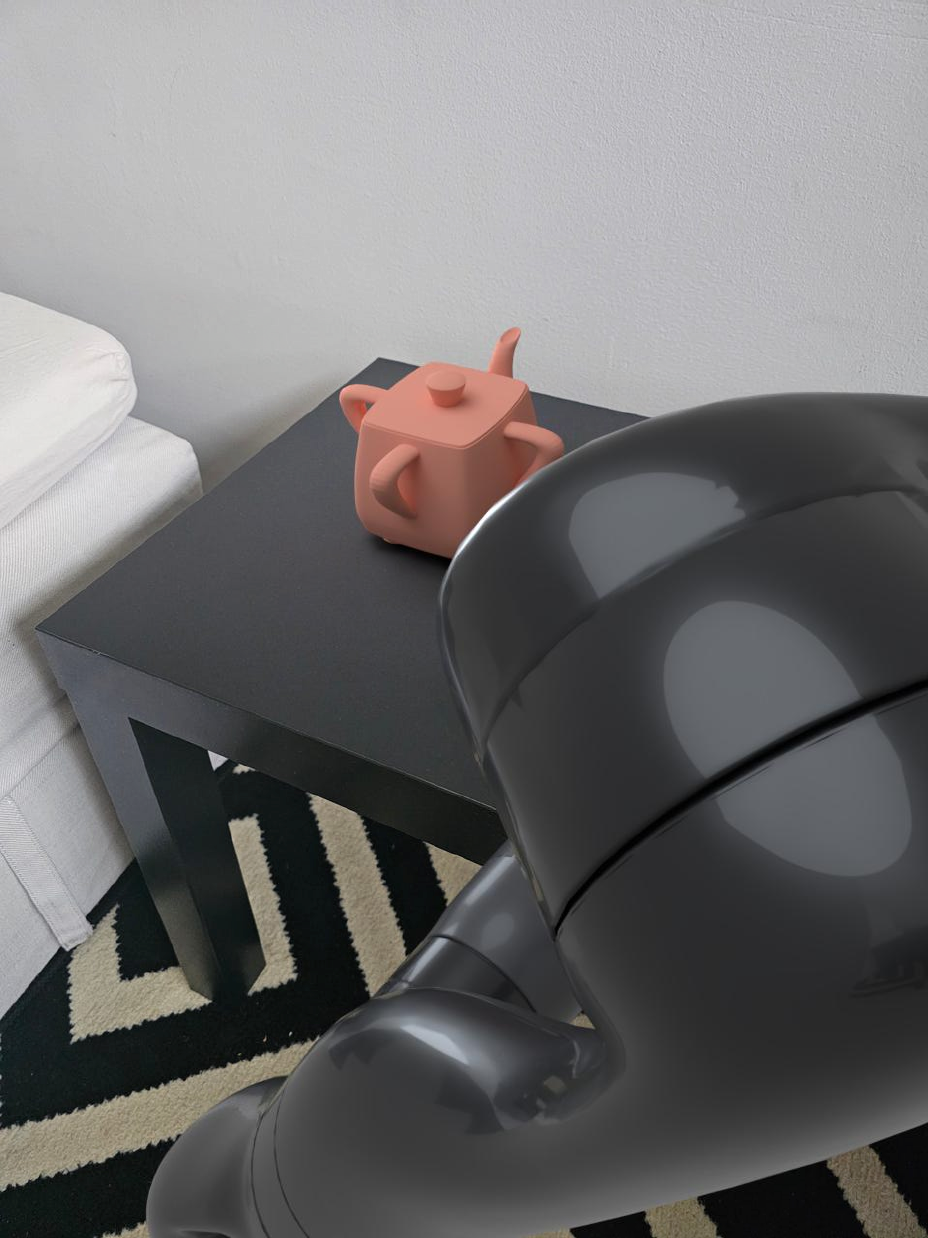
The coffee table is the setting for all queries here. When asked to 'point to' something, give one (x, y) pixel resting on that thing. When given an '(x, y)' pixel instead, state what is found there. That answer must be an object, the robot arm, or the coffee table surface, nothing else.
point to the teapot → (444, 449)
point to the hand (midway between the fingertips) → (707, 720)
